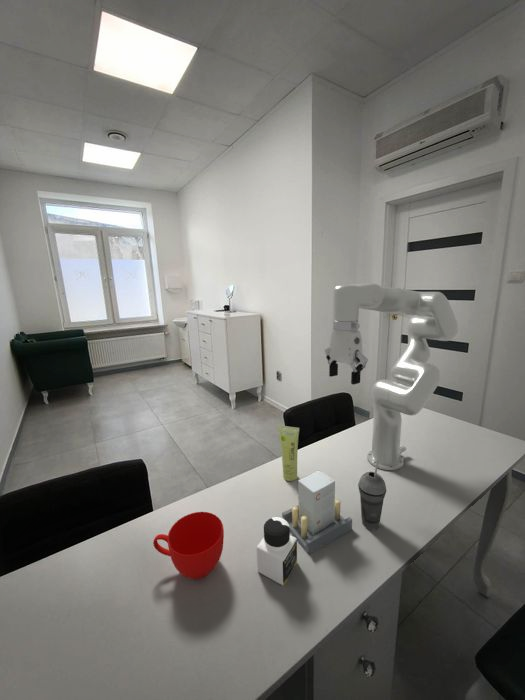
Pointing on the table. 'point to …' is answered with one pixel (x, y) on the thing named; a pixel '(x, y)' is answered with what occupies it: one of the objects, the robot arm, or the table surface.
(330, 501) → the small box
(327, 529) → the pin tray
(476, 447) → the table surface
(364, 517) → the beverage cup
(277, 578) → the medicine bottle
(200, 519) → the ceramic cup
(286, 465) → the tube
